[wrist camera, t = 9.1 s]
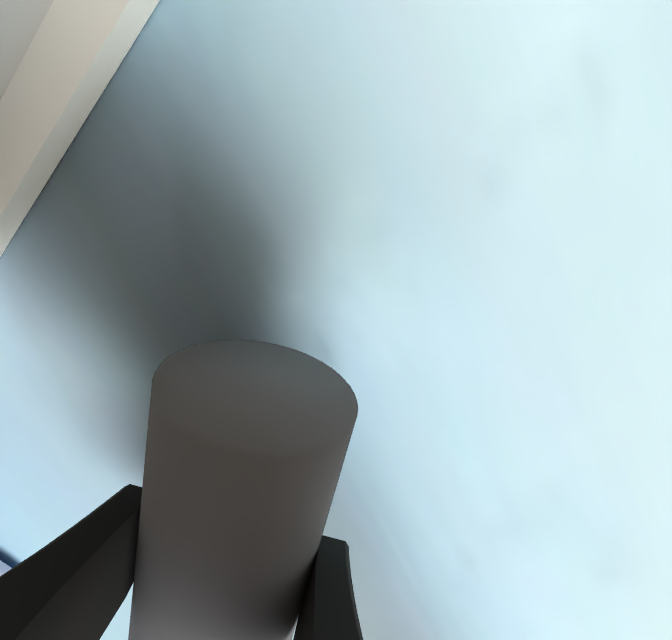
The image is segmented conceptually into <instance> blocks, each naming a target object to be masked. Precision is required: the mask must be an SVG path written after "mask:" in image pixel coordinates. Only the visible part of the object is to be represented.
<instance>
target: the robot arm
mask: <svg viewBox="0 0 672 640" xmlns="http://www.w3.org/2000/svg"><path fill="white" fill-rule="evenodd" d="M141 498H142V487H139V486H135V485H131V484H129V485H127V486H125V487H124V488H122V489H121V490H120V491H119V492H117V493H116V494H115V495H113V496H112V497H111V498H110V499H108V500H107V501H106V502H104V503H103V504H102V505H101V506H99V507H98V508H97V509H95V510H94V511H93V512H91V513H90V514H89V515H87V516H86V517H85V518H83V519H82V520H81V521H79V522H78V523H77V524H75V525H74V526H73V527H71V528H70V529H69V530H67V531H66V532H64V533H63V534H62V535H60V536H59V537H57V538H56V539H55V540H53V541H52V542H50V543H49V544H48V545H46V546H45V547H43V548H42V549H40V550H39V551H38V552H36V553H35V554H33V555H32V556H30V557H29V558H27V559H26V560H24V561H23V562H21V563H19V564H18V565H16V566H15V567H13V568H11V567H10V566H8V565H7V564H5V563H4V562H2V561H1V560H0V640H99V639H100V638H101V636H102V635H103V633H104V631H105V630H106V628H107V627H108V625H109V623H110V622H111V620H112V619H113V617H114V615H115V614H116V612H117V611H118V609H119V607H120V606H121V604H122V602H123V601H124V599H125V598H126V596H127V594H128V592H129V590H130V588H131V586H132V584H133V582H134V573H135V562H136V552H137V541H138V530H139V519H140V509H141ZM293 640H363V637H362V632H361V628H360V623H359V619H358V614H357V609H356V604H355V598H354V592H353V586H352V579H351V571H350V561H349V546H348V545H347V543H346V542H345V541H342V540H338V539H335V538H331V537H327V536H323V535H322V537H321V541H320V544H319V547H318V550H317V554H316V557H315V561H314V564H313V568H312V571H311V574H310V578H309V581H308V585H307V588H306V592H305V595H304V598H303V602H302V605H301V609H300V612H299V616H298V620H297V625H296V630H295V635H294V639H293Z"/></svg>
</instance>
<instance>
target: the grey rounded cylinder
mask: <svg viewBox="0 0 672 640" xmlns="http://www.w3.org/2000/svg"><path fill="white" fill-rule="evenodd" d="M357 413H358V405H357V399H356V397H355V394H354V392H353V390H352V389H351V387H350V386H349V384H348V383H347V382H346V381H345V379H343V378H342V377H341V376H340V375H339V374H338V373H337V372H336V371H335V370H333V369H332V368H331V367H329V366H328V365H326V364H324V363H323V362H321V361H319V360H317V359H316V358H314V357H311V356H309V355H307V354H305V353H302V352H299V351H297V350H294V349H291V348H288V347H284V346H280V345H276V344H271V343H266V342H259V341H251V340H218V341H211V342H205V343H200V344H196V345H193V346H190V347H187V348H184V349H182V350H180V351H178V352H176V353H174V354H172V355H171V356H169V357H168V358H167V359H165V360H164V361H163V362H162V363H161V364H160V366H159V367H158V368H157V370H156V372H155V374H154V377H153V380H152V390H151V401H150V412H149V422H148V433H147V444H146V455H145V465H144V476H143V487H142V498H141V509H140V519H139V530H138V541H137V552H136V562H135V573H134V584H133V595H132V606H131V616H130V627H129V638H128V640H292V636H293V633H294V630H295V626H296V623H297V619H298V616H299V612H300V609H301V605H302V602H303V598H304V595H305V592H306V588H307V585H308V581H309V578H310V574H311V571H312V568H313V564H314V561H315V557H316V554H317V550H318V547H319V544H320V541H321V537H322V534H323V530H324V527H325V524H326V520H327V517H328V513H329V510H330V507H331V503H332V500H333V496H334V493H335V489H336V486H337V483H338V479H339V476H340V472H341V469H342V466H343V462H344V459H345V455H346V452H347V448H348V445H349V442H350V438H351V435H352V431H353V428H354V425H355V421H356V418H357Z"/></svg>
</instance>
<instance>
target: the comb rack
mask: <svg viewBox="0 0 672 640" xmlns="http://www.w3.org/2000/svg"><path fill="white" fill-rule="evenodd" d="M159 1H160V0H0V257H1V255H2V254H3V252H4V250H5V249H6V247H7V245H8V244H9V242H10V241H11V239H12V237H13V236H14V234H15V233H16V231H17V229H18V228H19V226H20V225H21V223H22V221H23V220H24V218H25V217H26V215H27V213H28V212H29V210H30V208H31V207H32V205H33V204H34V202H35V200H36V199H37V197H38V196H39V194H40V192H41V191H42V189H43V188H44V186H45V184H46V183H47V181H48V180H49V178H50V176H51V175H52V173H53V172H54V170H55V168H56V167H57V165H58V163H59V162H60V160H61V159H62V157H63V155H64V154H65V152H66V151H67V149H68V147H69V146H70V144H71V143H72V141H73V139H74V138H75V136H76V135H77V133H78V131H79V130H80V128H81V126H82V125H83V123H84V122H85V120H86V118H87V117H88V115H89V114H90V112H91V110H92V109H93V107H94V106H95V104H96V102H97V101H98V99H99V98H100V96H101V94H102V93H103V91H104V89H105V88H106V86H107V85H108V83H109V81H110V80H111V78H112V77H113V75H114V73H115V72H116V70H117V69H118V67H119V65H120V64H121V62H122V61H123V59H124V57H125V56H126V54H127V52H128V51H129V49H130V48H131V46H132V44H133V43H134V41H135V40H136V38H137V36H138V35H139V33H140V32H141V30H142V28H143V27H144V25H145V24H146V22H147V20H148V19H149V17H150V15H151V14H152V12H153V11H154V9H155V7H156V6H157V4H158V3H159Z"/></svg>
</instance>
